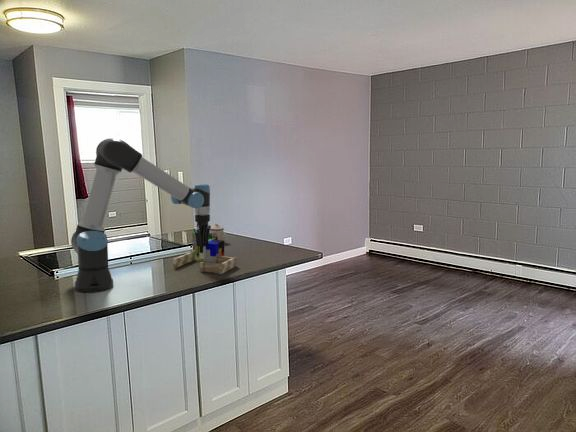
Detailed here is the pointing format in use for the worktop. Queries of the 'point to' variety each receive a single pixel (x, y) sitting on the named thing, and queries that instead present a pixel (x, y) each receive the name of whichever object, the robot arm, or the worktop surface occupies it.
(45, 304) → the worktop surface
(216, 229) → the teacup with lid
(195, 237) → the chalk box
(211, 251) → the puzzle toy
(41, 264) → the worktop surface
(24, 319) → the worktop surface
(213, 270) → the beige low frame piece
